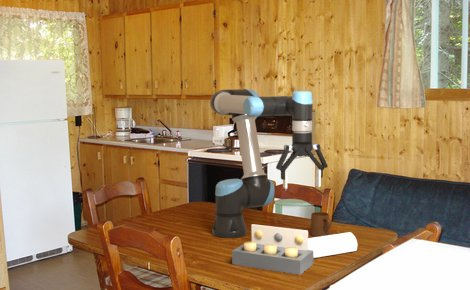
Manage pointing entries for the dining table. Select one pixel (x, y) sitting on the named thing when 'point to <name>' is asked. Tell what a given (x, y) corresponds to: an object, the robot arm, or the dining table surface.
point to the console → (282, 241)
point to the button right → (291, 252)
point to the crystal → (332, 244)
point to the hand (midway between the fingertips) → (301, 187)
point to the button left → (250, 246)
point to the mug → (320, 224)
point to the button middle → (270, 249)
